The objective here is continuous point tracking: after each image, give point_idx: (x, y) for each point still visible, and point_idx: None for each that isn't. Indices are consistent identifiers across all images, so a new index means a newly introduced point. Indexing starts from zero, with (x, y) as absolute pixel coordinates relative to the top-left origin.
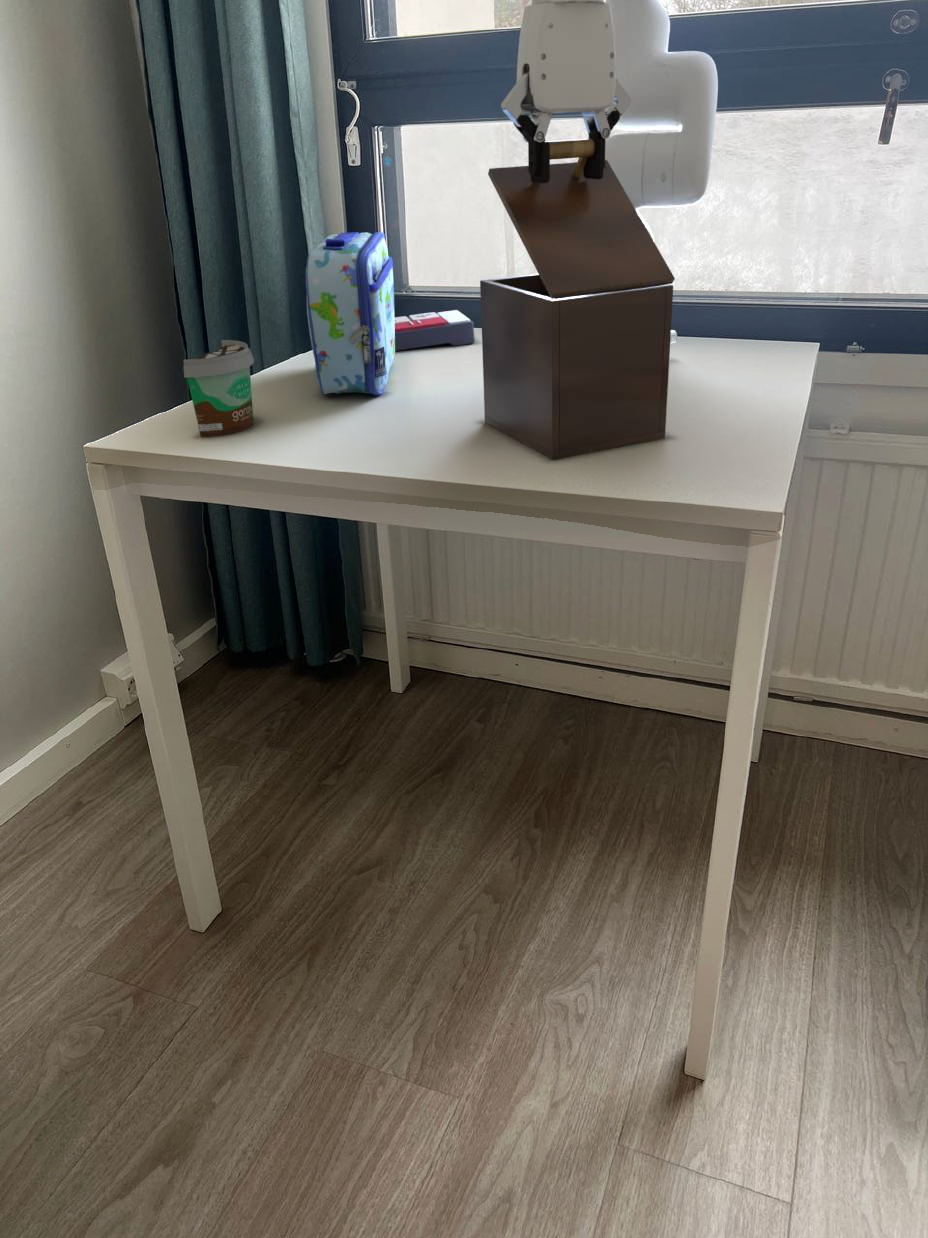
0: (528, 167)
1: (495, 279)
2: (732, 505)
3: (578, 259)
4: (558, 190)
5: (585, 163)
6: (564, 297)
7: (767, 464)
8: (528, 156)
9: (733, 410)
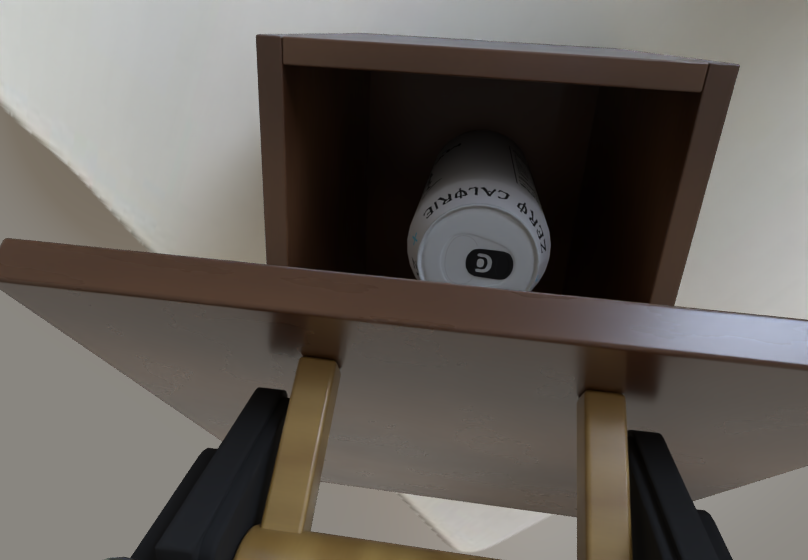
0: (194, 463)
1: (308, 57)
2: (443, 528)
3: (369, 473)
4: (420, 403)
5: (631, 505)
6: (438, 278)
7: None
8: (163, 510)
9: (801, 273)
